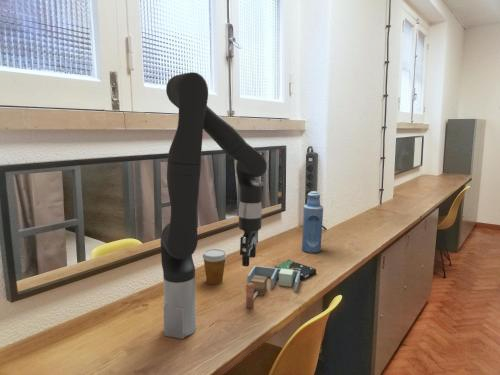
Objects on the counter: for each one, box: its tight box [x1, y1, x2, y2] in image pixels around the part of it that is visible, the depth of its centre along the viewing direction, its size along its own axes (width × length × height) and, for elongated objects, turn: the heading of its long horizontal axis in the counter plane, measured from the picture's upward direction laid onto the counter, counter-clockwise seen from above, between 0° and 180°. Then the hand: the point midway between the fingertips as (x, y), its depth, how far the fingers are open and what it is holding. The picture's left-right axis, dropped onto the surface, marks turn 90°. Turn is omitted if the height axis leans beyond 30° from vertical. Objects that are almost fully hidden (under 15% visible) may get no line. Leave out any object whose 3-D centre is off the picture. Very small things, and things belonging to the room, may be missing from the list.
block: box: [278, 268, 294, 287], centre depth 141 cm, size 5×5×5 cm
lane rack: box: [246, 265, 301, 293], centre depth 141 cm, size 11×19×4 cm, turn 75°
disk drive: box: [274, 259, 317, 282], centre depth 152 cm, size 10×3×15 cm
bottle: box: [301, 190, 324, 254], centre depth 177 cm, size 10×10×30 cm
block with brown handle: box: [245, 275, 268, 309], centre depth 129 cm, size 16×5×8 cm, turn 164°
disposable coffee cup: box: [202, 248, 228, 285], centre depth 141 cm, size 10×10×12 cm
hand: (249, 261), depth 120 cm, fingers open, 8 cm apart
